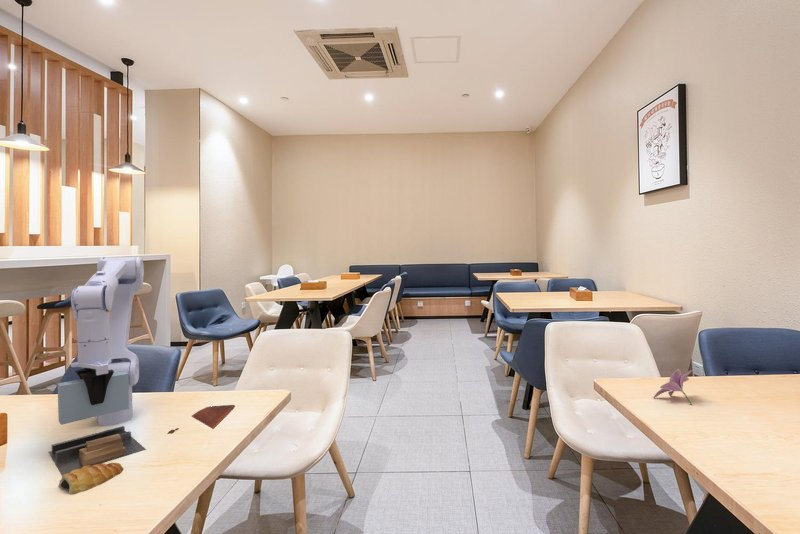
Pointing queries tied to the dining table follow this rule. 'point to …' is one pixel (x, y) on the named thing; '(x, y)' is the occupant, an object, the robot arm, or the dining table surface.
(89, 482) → the pastry
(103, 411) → the pale blue upright panel
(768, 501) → the dining table surface
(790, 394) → the dining table surface
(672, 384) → the lily
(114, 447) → the offcuts
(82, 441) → the metal plate
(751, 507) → the dining table surface
